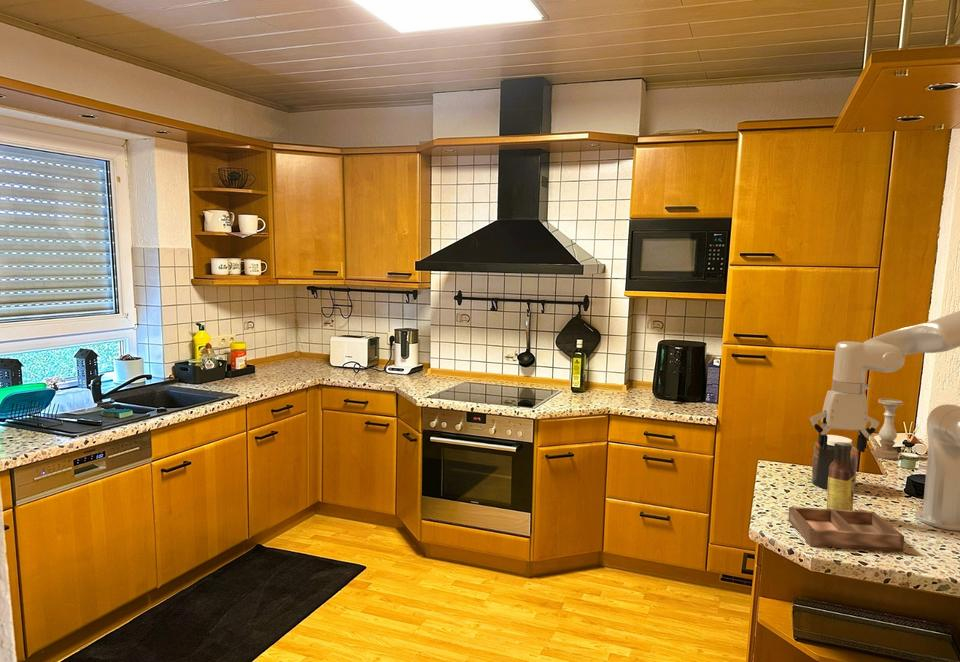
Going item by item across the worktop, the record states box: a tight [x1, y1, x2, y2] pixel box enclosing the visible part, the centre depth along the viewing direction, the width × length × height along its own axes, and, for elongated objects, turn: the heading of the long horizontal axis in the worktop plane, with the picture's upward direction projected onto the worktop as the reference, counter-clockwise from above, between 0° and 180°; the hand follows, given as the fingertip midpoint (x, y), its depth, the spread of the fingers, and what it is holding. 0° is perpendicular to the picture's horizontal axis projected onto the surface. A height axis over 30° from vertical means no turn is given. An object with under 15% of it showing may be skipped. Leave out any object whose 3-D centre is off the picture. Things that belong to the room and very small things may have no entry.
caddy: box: [787, 506, 905, 553], centre depth 159 cm, size 21×15×4 cm
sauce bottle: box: [826, 442, 855, 510], centre depth 172 cm, size 7×6×20 cm
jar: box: [811, 434, 858, 491], centre depth 195 cm, size 12×12×15 cm
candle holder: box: [871, 398, 904, 460], centre depth 225 cm, size 9×9×20 cm
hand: (841, 449), depth 171 cm, fingers open, 9 cm apart
